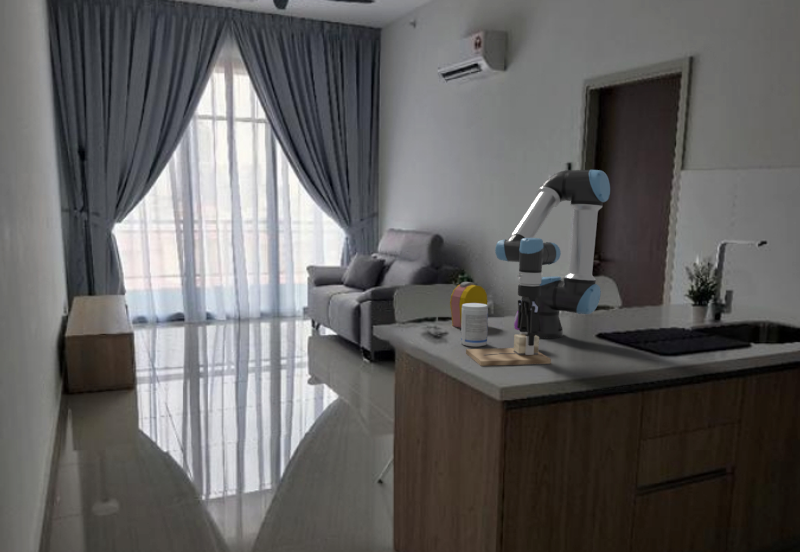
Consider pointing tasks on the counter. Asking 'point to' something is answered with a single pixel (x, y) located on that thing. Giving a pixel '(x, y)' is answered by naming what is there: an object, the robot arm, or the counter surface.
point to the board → (505, 357)
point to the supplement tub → (474, 324)
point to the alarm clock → (465, 299)
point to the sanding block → (524, 344)
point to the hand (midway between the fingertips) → (526, 352)
